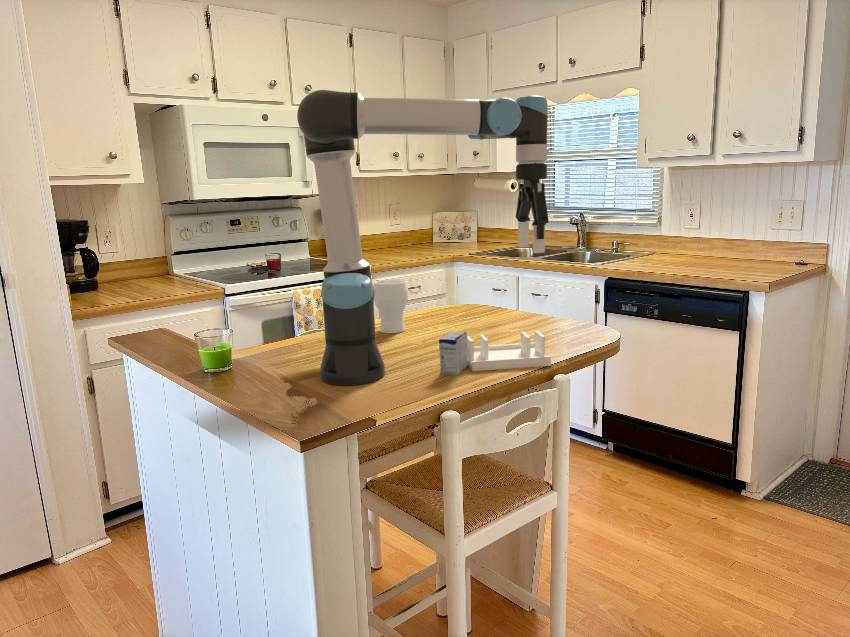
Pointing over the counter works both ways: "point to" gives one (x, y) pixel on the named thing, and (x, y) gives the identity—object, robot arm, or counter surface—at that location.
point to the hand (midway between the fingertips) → (530, 249)
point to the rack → (508, 354)
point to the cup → (391, 304)
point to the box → (453, 353)
